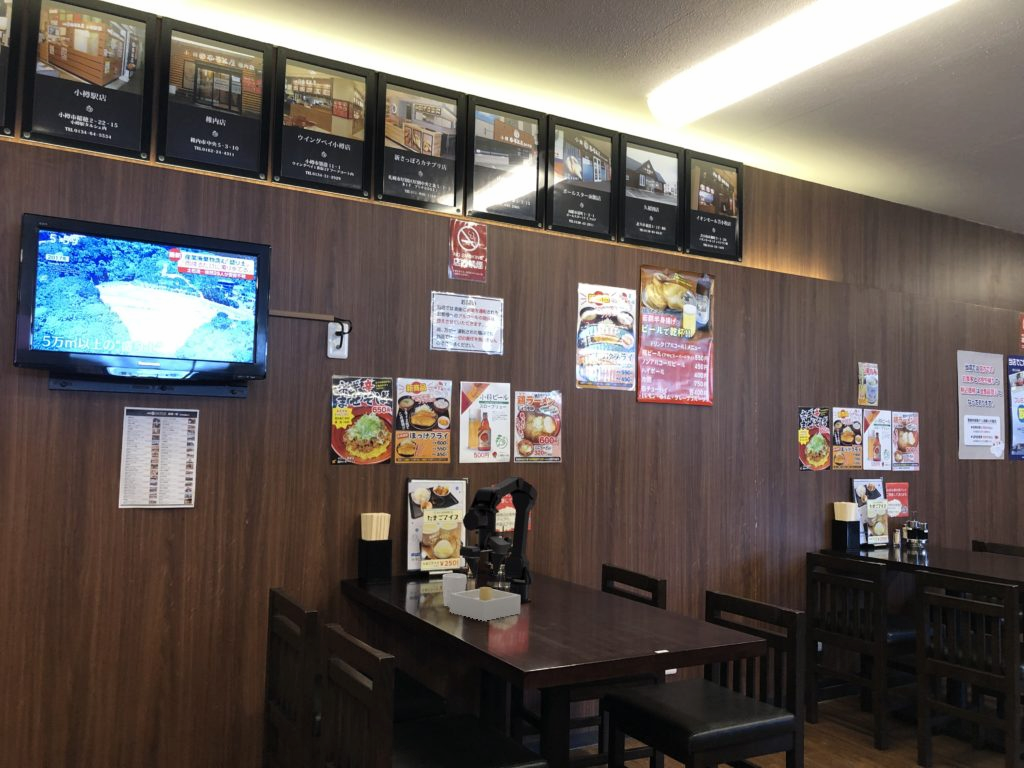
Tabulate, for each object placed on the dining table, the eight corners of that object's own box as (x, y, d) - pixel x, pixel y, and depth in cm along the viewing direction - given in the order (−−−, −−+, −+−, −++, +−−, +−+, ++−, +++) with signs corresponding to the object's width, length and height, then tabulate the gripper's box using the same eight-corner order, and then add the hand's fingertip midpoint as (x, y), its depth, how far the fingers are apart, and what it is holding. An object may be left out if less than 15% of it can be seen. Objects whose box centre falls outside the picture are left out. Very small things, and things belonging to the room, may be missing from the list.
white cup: (437, 606, 266) (438, 575, 267) (450, 602, 273) (450, 572, 274) (457, 609, 263) (458, 578, 263) (470, 605, 270) (470, 574, 270)
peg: (485, 611, 260) (485, 586, 261) (493, 613, 257) (494, 588, 258) (476, 613, 257) (477, 587, 258) (484, 615, 255) (485, 589, 255)
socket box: (485, 605, 269) (486, 587, 269) (520, 614, 258) (520, 595, 258) (449, 612, 257) (450, 593, 258) (484, 621, 246) (484, 601, 246)
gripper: (483, 532, 247) (481, 583, 246) (524, 528, 260) (523, 577, 259) (459, 528, 254) (457, 578, 254) (500, 525, 268) (499, 572, 267)
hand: (485, 576), depth 258 cm, fingers open, 9 cm apart
